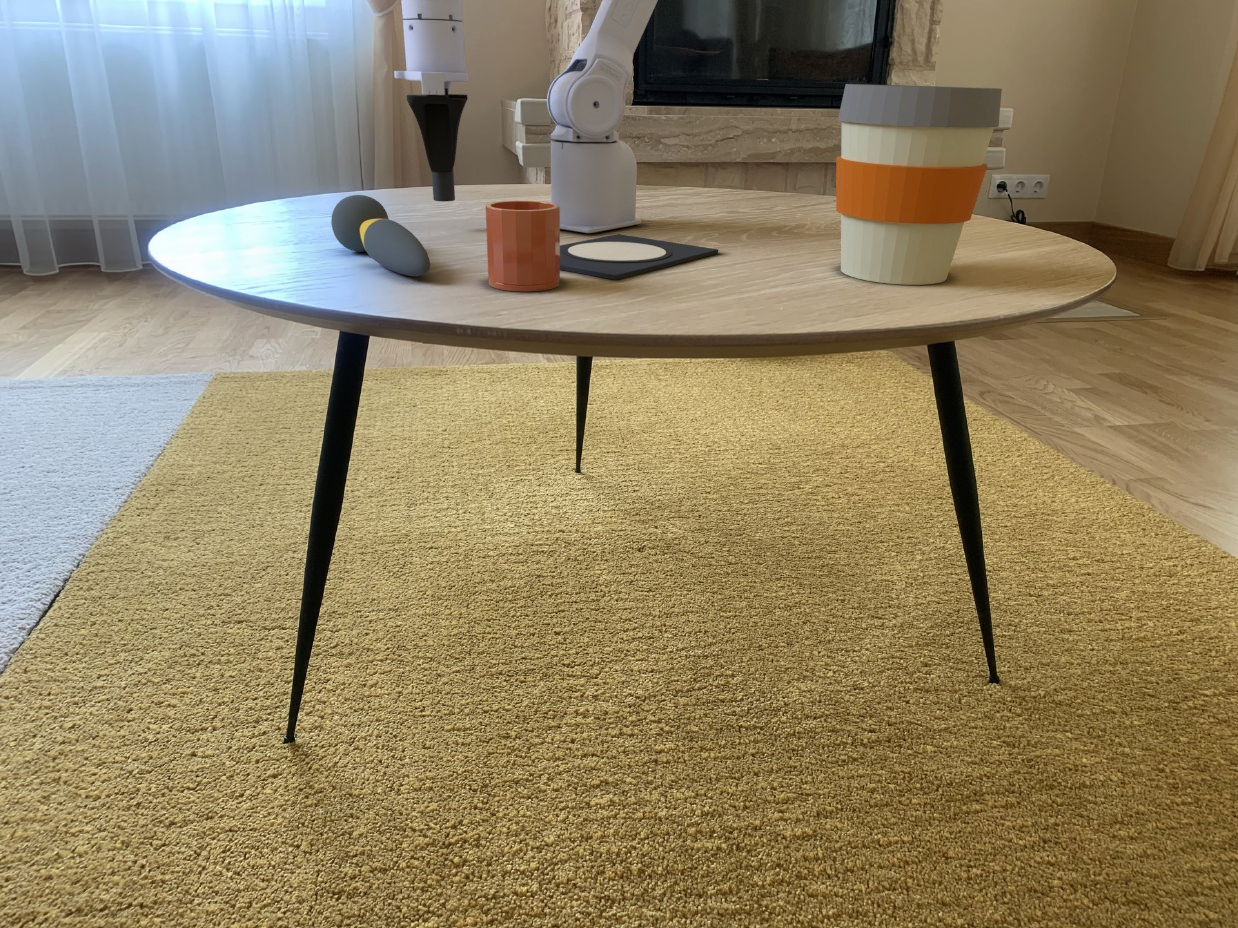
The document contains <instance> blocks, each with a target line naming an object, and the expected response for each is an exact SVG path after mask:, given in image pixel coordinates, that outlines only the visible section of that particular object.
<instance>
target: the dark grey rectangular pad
mask: <svg viewBox="0 0 1238 928" xmlns="http://www.w3.org/2000/svg"><path fill="white" fill-rule="evenodd" d="M717 254H719V249H718V248H712V247H706V246H700V245H699V246H698V245H692V244H687V243H686V244H685V243H681V242H680V243H679V242H672V241H666V240H660V239H652V238H647V237H641V236H633V235H629V234H628V235H626V234H621V233H617V234H611V235H606V236H601V237H597V238H592V239H591V238H590V239H587V240H581V241H576V242H570V243H565V244H560V271H565V272H570V273H571V272H572V273H577V274H582V275H587V276H592V277H597V278H603V279H607V280H613V281H617V280H620V279H625V278H629V277H633V276H636V275H640V274H644V273H648V272H653V271H656V270H660V269H663V268H668V267H671V266H675V265H678V264H682V263H687V262H690V261H695V260H698V259H702V258H706V257H710V256H714V255H717Z"/></svg>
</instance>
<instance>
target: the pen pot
mask: <svg viewBox="0 0 1238 928" xmlns="http://www.w3.org/2000/svg"><path fill="white" fill-rule="evenodd" d="M485 224H486V225H485V227H486V252H487V254H486V255H487V277H488V285H489V287H492V288H494V289H497V290H501V291H506V292H507V291H508V292H521V293H523V292H525V293H527V292H542V291H549V290H551V289H554V288H557V287H559V286H560V284H561V283H560V281H561V270H560V245H561V229H560V207H559V205H558V204H554V203H551V202H548V201H540V200H499V201H493V202H492V201H491V202H489V203H486V204H485Z"/></svg>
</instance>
